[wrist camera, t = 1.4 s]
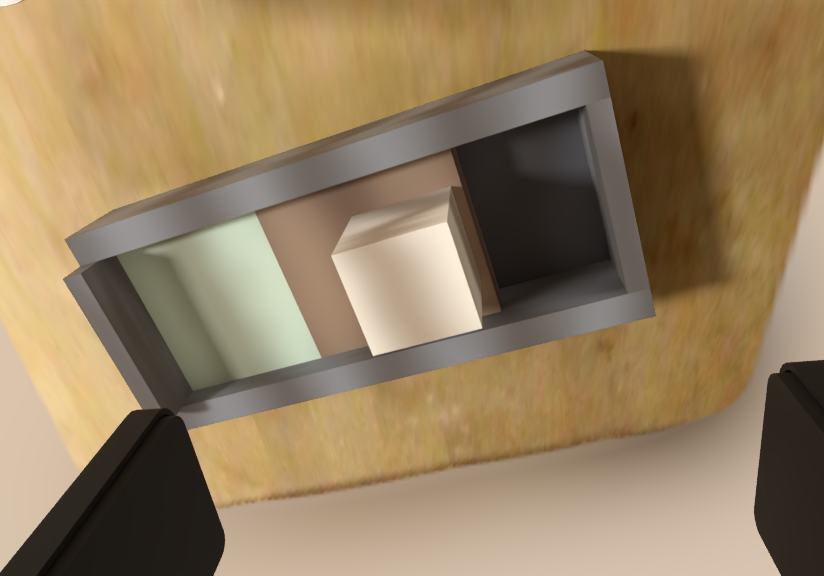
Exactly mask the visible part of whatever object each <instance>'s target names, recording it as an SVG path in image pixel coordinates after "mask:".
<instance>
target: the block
mask: <svg viewBox="0 0 824 576" xmlns="http://www.w3.org/2000/svg"><path fill="white" fill-rule="evenodd" d="M331 257H332V259H333V262H334V264H335V266H336V269H337V271H338V274H339V276H340V278H341V281H342V283H343V285H344V288H345V290H346V293H347V295H348V297H349V300H350V302H351V305H352V307H353V309H354V312H355V314H356V316H357V319H358V321H359V324H360V326H361V328H362V331H363V333H364V336H365V338H366V340H367V343H368V345H369V347H370V350H371V352H372V355H373V356H375V355H379V354H383V353H387V352H391V351H395V350H399V349H403V348H407V347H411V346H415V345H419V344H423V343H427V342H431V341H434V340H438V339H442V338H446V337H450V336H454V335H458V334H462V333H466V332H470V331H474V330H478V329H482V299H481V279H480V275H479V272H478V269H477V266H476V263H475V260H474V257H473V254H472V251H471V248H470V245H469V241H468V238H467V235H466V232H465V229H464V226H463V223H462V220H461V217H460V214H459V210H458V207H457V204H456V201H455V198H454V195H453V192H452V189H451V186H450V187H446V188H443V189H440V190H437V191H433V192H430V193H427V194H424V195H420V196H417V197H414V198H410V199H407V200H404V201H401V202H397V203H394V204H391V205H388V206H384V207H381V208H378V209H375V210H371V211H368V212H365V213H362V214H358V215H355V216H352V217H351V219H350V221H349V223H348V225H347V227H346V228H345V230H344V232H343V234H342V236H341V238H340V240H339V242H338V244H337V245H336V247H335V249H334V251H333V253H332V255H331Z"/></svg>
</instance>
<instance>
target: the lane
mask: <svg viewBox="0 0 824 576" xmlns="http://www.w3.org/2000/svg"><path fill="white" fill-rule="evenodd" d="M450 186H451V189H452V192H453V195H454V198H455V201H456V204H457V207H458V210H459V214H460V217H461V220H462V223H463V226H464V229H465V232H466V235H467V238H468V241H469V245H470V248H471V251H472V254H473V257H474V260H475V263H476V266H477V269H478V272H479V275H480V279H481V299H482V329H478V330H474V331H470V332H466V333H462V334H458V335H454V336H450V337H446V338H442V339H438V340H434V341H431V342H427V343H423V344H419V345H415V346H411V347H407V348H403V349H399V350H395V351H391V352H387V353H383V354H379V355H375V356H373V355H372V352H371V350H370V347H369V345H368V343H367V340H366V338H365V336H364V333H363V331H362V328H361V326H360V324H359V321H358V319H357V316H356V314H355V312H354V309H353V307H352V305H351V302H350V300H349V297H348V295H347V293H346V290H345V288H344V285H343V283H342V281H341V278H340V276H339V274H338V271H337V269H336V266H335V264H334V262H333V259H332V257H331V255H332V253H333V251H334V249H335V247H336V245H337V244H338V242H339V240H340V238H341V236H342V234H343V232H344V230H345V228H346V227H347V225H348V223H349V221H350V219H351V217H352V216H355V215H358V214H362V213H365V212H368V211H371V210H375V209H378V208H381V207H384V206H388V205H391V204H394V203H397V202H401V201H404V200H407V199H410V198H414V197H417V196H420V195H424V194H427V193H430V192H433V191H437V190H440V189H443V188H446V187H450ZM64 240H65V241H66V243H67V245H68V246H69V248H70V250H71V251H72V253H73V255H74V256H75V258H76V260H77V261H78V263H79V265H80V266H81V267H79V268H78V269H77V270H75V271H74V272H72V273H71V274H69V275H68V276H67V277H65V278H64V279H63V280H64V282H65V283H66V285H67V287H68V288H69V290H70V292H71V293H72V295H73V296H74V298H75V300H76V301H77V303H78V305H79V306H80V308H81V310H82V311H83V313H84V314H85V316H86V318H87V319H88V321H89V323H90V324H91V326H92V328H93V329H94V331H95V332H96V334H97V336H98V337H99V339H100V341H101V342H102V344H103V346H104V347H105V349H106V350H107V352H108V354H109V355H110V357H111V359H112V360H113V362H114V363H115V365H116V367H117V368H118V370H119V372H120V373H121V375H122V377H123V378H124V380H125V381H126V383H127V385H128V386H129V388H130V390H131V391H132V393H133V395H134V396H135V398H136V399H137V401H138V403H139V404H140V406H141V408H142V409H157V408H168V409H170V410H171V411H172V412H173V413H174V415H175V416H180V417H181V418H182V419H183V421H184V423H185V426H186V428H187V430H189V429H194V428H198V427H202V426H206V425H210V424H214V423H218V422H222V421H226V420H231V419H235V418H239V417H243V416H247V415H251V414H255V413H259V412H263V411H268V410H272V409H276V408H280V407H284V406H288V405H292V404H296V403H300V402H304V401H309V400H313V399H317V398H321V397H325V396H329V395H333V394H337V393H341V392H346V391H350V390H354V389H358V388H362V387H366V386H370V385H374V384H378V383H383V382H387V381H391V380H395V379H399V378H403V377H407V376H411V375H415V374H420V373H424V372H428V371H432V370H436V369H440V368H444V367H448V366H452V365H456V364H461V363H465V362H469V361H473V360H477V359H481V358H485V357H489V356H493V355H498V354H502V353H506V352H510V351H514V350H518V349H522V348H526V347H530V346H535V345H539V344H543V343H547V342H551V341H555V340H559V339H563V338H567V337H572V336H576V335H580V334H584V333H588V332H592V331H596V330H600V329H604V328H608V327H613V326H617V325H621V324H625V323H629V322H633V321H637V320H641V319H645V318H650V317H654V316H656V314H655V309H654V304H653V299H652V295H651V290H650V285H649V280H648V275H647V270H646V266H645V261H644V256H643V251H642V246H641V241H640V236H639V232H638V227H637V222H636V217H635V212H634V207H633V203H632V198H631V193H630V188H629V183H628V178H627V174H626V169H625V164H624V159H623V154H622V149H621V145H620V140H619V135H618V130H617V125H616V120H615V116H614V111H613V106H612V101H611V96H610V91H609V86H608V82H607V77H606V72H605V67H604V62H603V60H602V59H600V58H598V57H596V56H594V55H592V54H591V53H589V52H587V51H582V52H579V53H576V54H573V55H570V56H567V57H564V58H561V59H558V60H555V61H552V62H549V63H546V64H543V65H540V66H537V67H534V68H531V69H528V70H525V71H522V72H520V73H517V74H514V75H511V76H508V77H505V78H502V79H499V80H496V81H493V82H490V83H487V84H484V85H481V86H478V87H475V88H472V89H469V90H466V91H463V92H460V93H457V94H455V95H452V96H449V97H446V98H443V99H440V100H437V101H434V102H431V103H428V104H425V105H422V106H419V107H416V108H413V109H410V110H407V111H404V112H401V113H398V114H395V115H392V116H390V117H387V118H384V119H381V120H378V121H375V122H372V123H369V124H366V125H363V126H360V127H357V128H354V129H351V130H348V131H345V132H342V133H339V134H336V135H333V136H330V137H327V138H325V139H322V140H319V141H316V142H313V143H310V144H307V145H304V146H301V147H298V148H295V149H292V150H289V151H286V152H283V153H280V154H277V155H274V156H271V157H268V158H265V159H262V160H260V161H257V162H254V163H251V164H248V165H245V166H242V167H239V168H236V169H233V170H230V171H227V172H224V173H221V174H218V175H215V176H212V177H209V178H206V179H203V180H200V181H197V182H195V183H192V184H189V185H186V186H183V187H180V188H177V189H174V190H171V191H168V192H165V193H162V194H159V195H156V196H153V197H150V198H147V199H144V200H141V201H138V202H135V203H132V204H130V205H127V206H124V207H121V208H118V209H115V210H112V211H110V212H109V213H107V214H105V215H104V216H102V217H100V218H99V219H97V220H96V221H94V222H92V223H91V224H89V225H87V226H86V227H84V228H82V229H81V230H79V231H78V232H76V233H74V234H73V235H71V236H69V237H68V238H66V239H64Z"/></svg>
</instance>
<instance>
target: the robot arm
mask: <svg viewBox="0 0 824 576" xmlns="http://www.w3.org/2000/svg"><path fill="white" fill-rule="evenodd" d="M754 515H755V522H756V526H757V529H758V532H759V534H760V536H761V538H762V540H763V542H764V544H765V546H766V548H767V549H768V551H769V553H770V555H771V557H772V559H773V561H774V563H775V565H776V567H777V568H778V570H779V572H780V574H781V576H824V360H817V361H803V362H790V363H785V364H783V365H782V367H781V369H780V373H773V374H771V375H770V377H769V379H768V384H767V394H766V403H765V412H764V421H763V430H762V440H761V449H760V459H759V468H758V477H757V486H756V496H755V505H754ZM224 546H225V535H224V530H223V528H222V525H221V522H220V520H219V517H218V514H217V511H216V508H215V506H214V503H213V500H212V497H211V495H210V492H209V489H208V486H207V484H206V481H205V478H204V475H203V472H202V470H201V467H200V464H199V461H198V459H197V456H196V453H195V450H194V448H193V445H192V442H191V439H190V437H189V434H188V431H187V428H186V426H185V423H184V421H183V419H182V418H181V417H180V416H175V415H174V413H173V412H172V411H171V410H170V409H168V408H157V409H143V410H135V411H132V412H131V413H129V414H128V415H127V417H126V418H125V419H124V420H123V422H122V423H121V424H120V425H119V426H118V428H117V429H116V430H115V431H114V433H113V434H112V435H111V436H110V438H109V439H108V440H107V441H106V443H105V444H104V445H103V446H102V447H101V449H100V450H99V451H98V452H97V454H96V455H95V456H94V457H93V459H92V460H91V461H90V462H89V464H88V465H87V466H86V467H85V468H84V470H83V471H82V472H81V473H80V475H79V476H78V477H77V479H76V480H75V481H74V482H73V483H72V485H71V486H70V487H69V488H68V490H67V491H66V492H65V493H64V495H63V496H62V497H61V498H60V499H59V501H58V502H57V503H56V504H55V506H54V507H53V508H52V509H51V511H50V512H49V513H48V514H47V515H46V517H45V518H44V519H43V520H42V522H41V523H40V524H39V525H38V527H37V528H36V529H35V530H34V531H33V533H32V534H31V535H30V537H29V538H28V539H27V540H26V541H25V543H24V544H23V545H22V546H21V548H20V549H19V550H18V551H17V553H16V554H15V555H14V556H13V557H12V559H11V560H10V561H9V562H8V564H7V565H6V566H5V567H4V569H3V570H2V571H1V572H0V576H213V575H214V573H215V571H216V568H217V566H218V564H219V562H220V559H221V557H222V554H223V551H224Z"/></svg>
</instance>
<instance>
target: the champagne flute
mask: <svg viewBox="0 0 824 576" xmlns="http://www.w3.org/2000/svg"><path fill="white" fill-rule="evenodd" d="M20 1H22V0H0V6H8V5H12V4H16V3H18V2H20Z"/></svg>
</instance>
